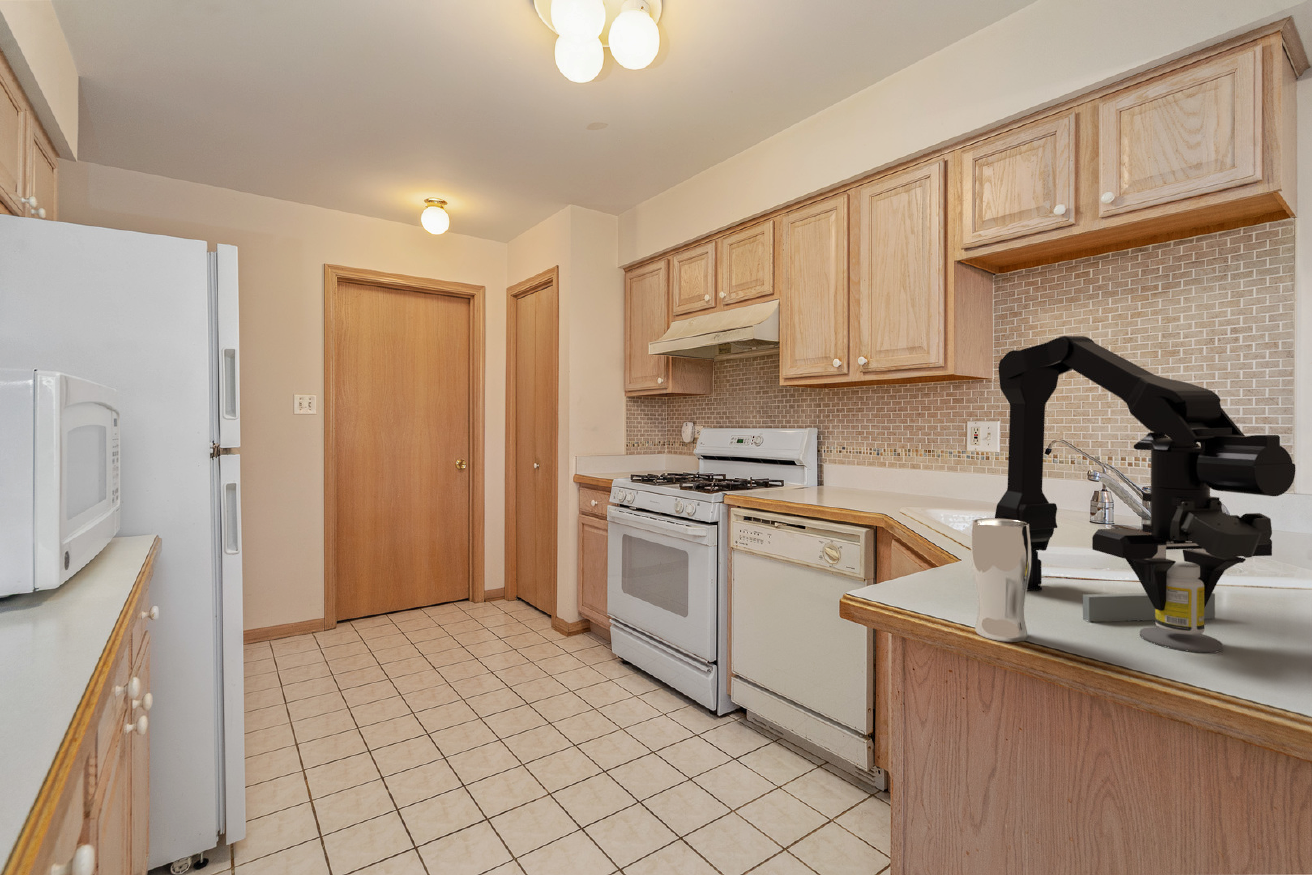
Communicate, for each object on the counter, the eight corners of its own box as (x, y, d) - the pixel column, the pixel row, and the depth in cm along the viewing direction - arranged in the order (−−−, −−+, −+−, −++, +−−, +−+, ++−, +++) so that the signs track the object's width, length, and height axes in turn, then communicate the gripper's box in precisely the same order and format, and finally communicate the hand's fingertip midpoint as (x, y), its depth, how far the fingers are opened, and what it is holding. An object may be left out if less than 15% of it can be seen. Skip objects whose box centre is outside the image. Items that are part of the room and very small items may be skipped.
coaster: (1162, 650, 74) (1162, 647, 74) (1127, 628, 82) (1127, 625, 82) (1239, 654, 73) (1239, 651, 73) (1196, 631, 81) (1196, 628, 81)
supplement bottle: (1185, 623, 80) (1185, 559, 79) (1214, 635, 75) (1215, 568, 75) (1145, 622, 80) (1146, 559, 80) (1172, 635, 75) (1172, 567, 75)
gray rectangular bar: (1089, 621, 85) (1089, 597, 85) (1082, 619, 86) (1082, 594, 86) (1214, 618, 86) (1214, 593, 86) (1206, 615, 87) (1206, 591, 87)
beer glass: (959, 630, 83) (958, 520, 83) (995, 622, 86) (994, 516, 85) (1007, 647, 77) (1006, 528, 76) (1044, 638, 79) (1043, 523, 79)
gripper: (1161, 496, 69) (1161, 633, 69) (1322, 493, 69) (1321, 629, 70) (1089, 486, 80) (1089, 604, 80) (1228, 483, 80) (1227, 600, 81)
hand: (1179, 609), depth 78 cm, fingers closed on supplement bottle, 5 cm apart
